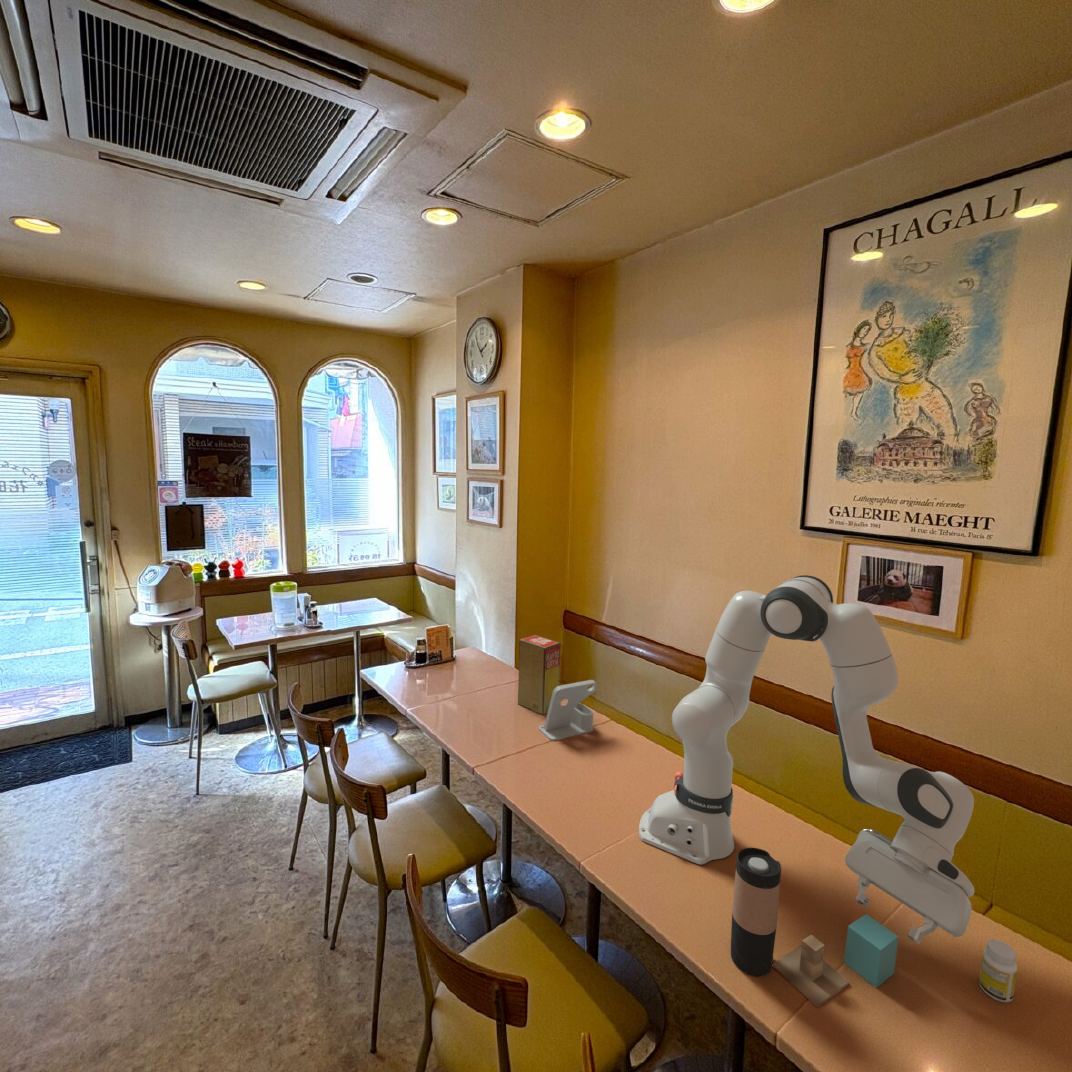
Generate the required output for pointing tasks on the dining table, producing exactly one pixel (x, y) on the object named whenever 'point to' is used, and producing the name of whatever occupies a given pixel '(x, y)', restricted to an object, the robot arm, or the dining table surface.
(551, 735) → the phone holder
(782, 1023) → the dining table surface
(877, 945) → the teal rectangular block
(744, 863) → the travel mug
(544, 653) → the food packaging
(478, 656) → the dining table surface
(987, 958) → the supplement bottle
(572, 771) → the dining table surface
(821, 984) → the flat square base
